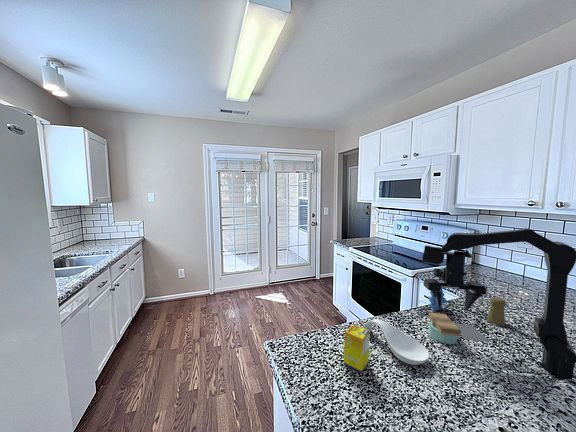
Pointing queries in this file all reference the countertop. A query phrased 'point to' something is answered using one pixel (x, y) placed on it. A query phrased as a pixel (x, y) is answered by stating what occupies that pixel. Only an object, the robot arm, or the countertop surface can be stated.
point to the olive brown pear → (497, 311)
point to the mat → (470, 332)
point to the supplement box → (356, 348)
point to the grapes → (433, 301)
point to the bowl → (441, 335)
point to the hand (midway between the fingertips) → (452, 308)
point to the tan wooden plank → (444, 324)
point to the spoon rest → (401, 344)
